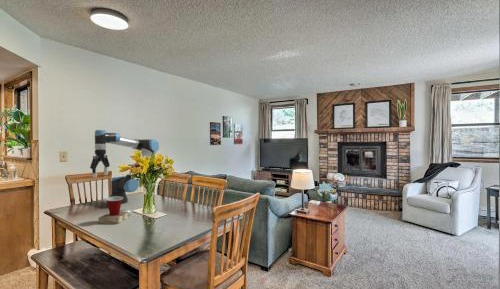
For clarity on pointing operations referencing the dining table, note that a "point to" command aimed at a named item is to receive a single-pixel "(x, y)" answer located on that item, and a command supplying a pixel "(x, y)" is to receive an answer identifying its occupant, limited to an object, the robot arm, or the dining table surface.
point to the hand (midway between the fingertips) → (100, 176)
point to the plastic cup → (114, 205)
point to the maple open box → (113, 218)
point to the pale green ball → (126, 211)
